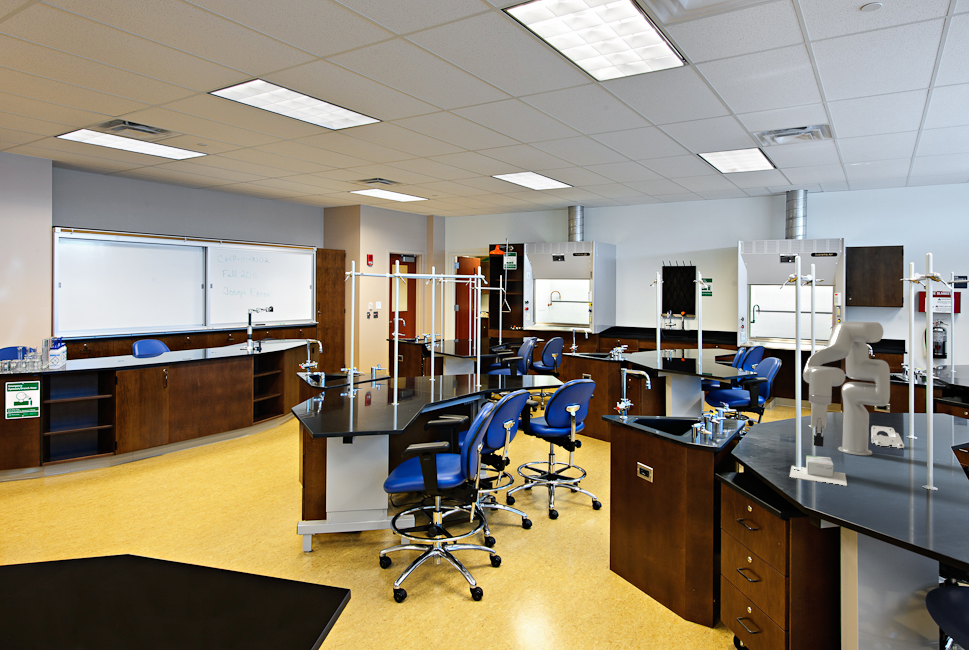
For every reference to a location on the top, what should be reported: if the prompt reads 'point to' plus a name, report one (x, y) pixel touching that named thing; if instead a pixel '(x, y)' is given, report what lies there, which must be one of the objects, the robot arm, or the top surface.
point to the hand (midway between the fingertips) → (818, 445)
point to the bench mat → (819, 477)
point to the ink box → (819, 466)
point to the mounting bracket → (886, 437)
